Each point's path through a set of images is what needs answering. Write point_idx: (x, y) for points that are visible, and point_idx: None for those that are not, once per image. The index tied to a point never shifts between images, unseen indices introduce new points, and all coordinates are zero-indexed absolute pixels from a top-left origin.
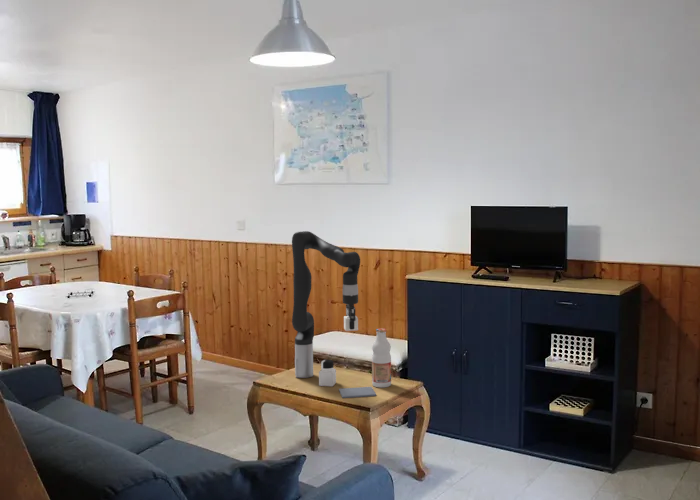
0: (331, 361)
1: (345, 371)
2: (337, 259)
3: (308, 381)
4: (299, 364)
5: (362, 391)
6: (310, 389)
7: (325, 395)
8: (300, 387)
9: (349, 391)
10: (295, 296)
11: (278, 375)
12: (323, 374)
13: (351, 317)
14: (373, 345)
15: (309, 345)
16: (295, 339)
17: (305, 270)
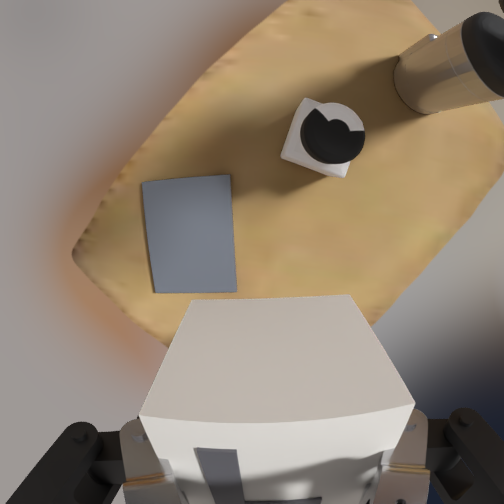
0: (323, 152)
1: (438, 230)
2: None
3: (355, 82)
4: (418, 50)
5: (186, 255)
6: (258, 76)
7: (180, 125)
8: (288, 47)
9: (191, 210)
10: None
11: (422, 18)
12: (296, 117)
13: (225, 489)
14: None
15: (470, 69)
16: (488, 12)
17: None
